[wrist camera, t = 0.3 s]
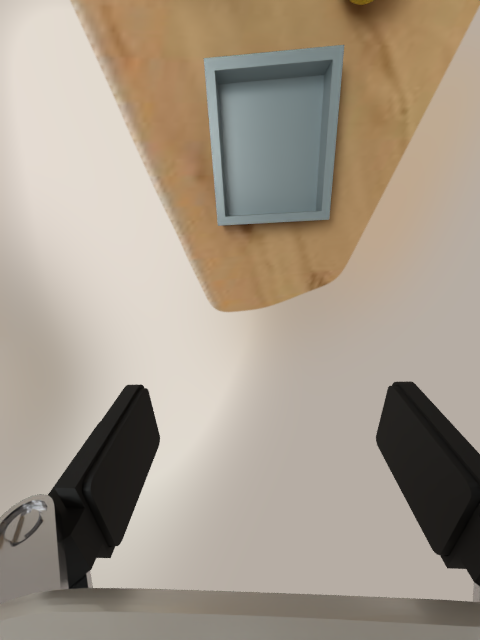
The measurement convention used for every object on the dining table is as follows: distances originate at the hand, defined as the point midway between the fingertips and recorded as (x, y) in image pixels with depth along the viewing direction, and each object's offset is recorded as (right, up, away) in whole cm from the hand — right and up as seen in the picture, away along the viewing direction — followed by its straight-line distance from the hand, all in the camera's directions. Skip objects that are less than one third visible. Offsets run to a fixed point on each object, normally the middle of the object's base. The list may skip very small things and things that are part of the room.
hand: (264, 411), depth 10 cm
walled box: (+3, +25, +22) cm, 33 cm away
